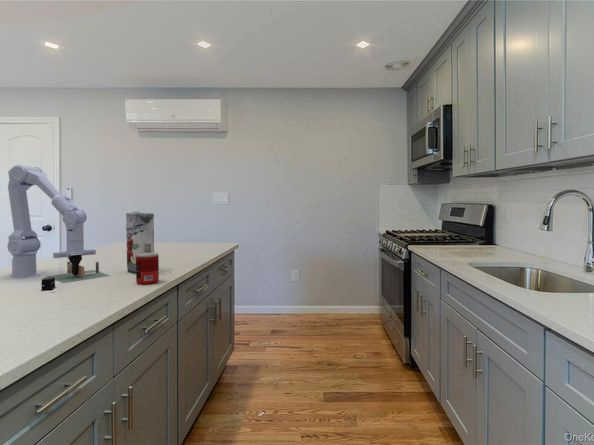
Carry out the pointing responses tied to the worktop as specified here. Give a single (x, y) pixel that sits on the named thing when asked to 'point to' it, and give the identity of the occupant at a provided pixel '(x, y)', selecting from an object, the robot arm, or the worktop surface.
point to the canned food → (147, 268)
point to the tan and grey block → (69, 270)
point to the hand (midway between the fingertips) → (75, 274)
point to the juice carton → (138, 236)
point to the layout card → (71, 278)
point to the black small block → (48, 284)
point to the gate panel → (81, 271)
